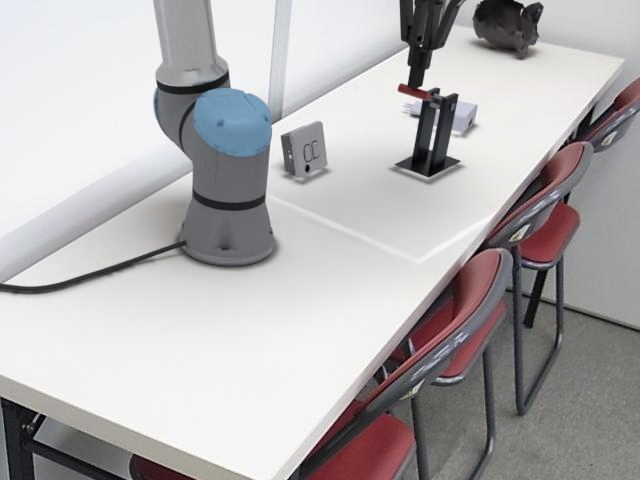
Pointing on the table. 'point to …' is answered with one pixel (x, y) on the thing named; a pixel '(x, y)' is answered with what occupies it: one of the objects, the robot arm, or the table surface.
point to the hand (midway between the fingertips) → (414, 86)
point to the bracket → (436, 158)
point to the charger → (461, 119)
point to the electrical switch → (304, 149)
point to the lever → (422, 95)
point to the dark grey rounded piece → (507, 23)
